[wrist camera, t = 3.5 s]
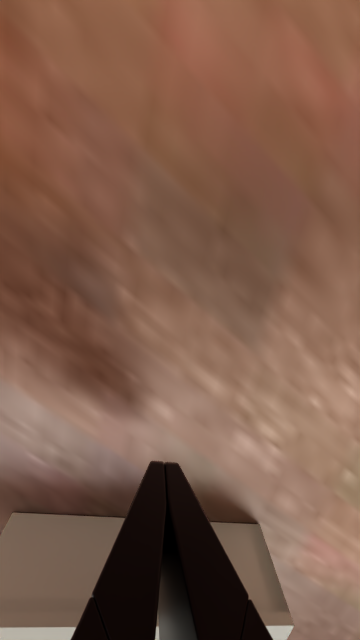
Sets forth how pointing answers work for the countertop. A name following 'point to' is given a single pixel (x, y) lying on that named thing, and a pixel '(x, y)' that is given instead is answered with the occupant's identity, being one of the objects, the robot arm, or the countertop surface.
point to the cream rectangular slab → (86, 566)
